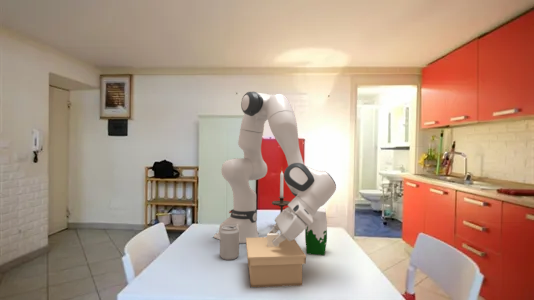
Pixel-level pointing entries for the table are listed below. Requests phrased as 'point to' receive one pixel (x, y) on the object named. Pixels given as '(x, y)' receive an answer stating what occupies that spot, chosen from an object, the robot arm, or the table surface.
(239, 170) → the robot arm
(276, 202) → the candlestick
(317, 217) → the milk carton
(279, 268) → the carton
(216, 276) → the table surface
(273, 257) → the carton lid
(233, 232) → the can
